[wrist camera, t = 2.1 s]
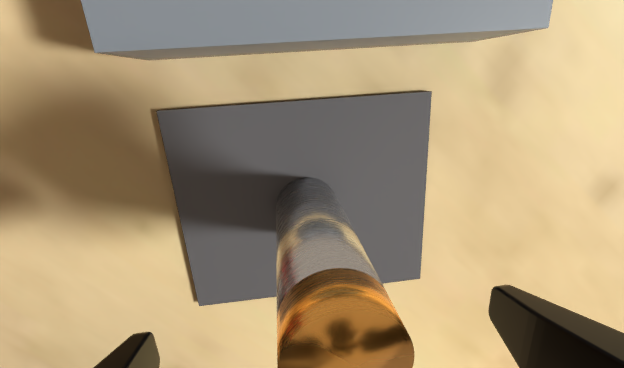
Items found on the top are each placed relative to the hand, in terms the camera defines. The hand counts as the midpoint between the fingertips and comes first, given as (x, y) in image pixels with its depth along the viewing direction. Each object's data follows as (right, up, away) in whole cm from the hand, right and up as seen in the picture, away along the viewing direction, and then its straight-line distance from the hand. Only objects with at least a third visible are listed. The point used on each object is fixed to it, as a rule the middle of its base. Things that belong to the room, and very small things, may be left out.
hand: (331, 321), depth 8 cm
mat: (-1, +3, +7) cm, 8 cm away
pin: (-1, +2, +7) cm, 8 cm away
